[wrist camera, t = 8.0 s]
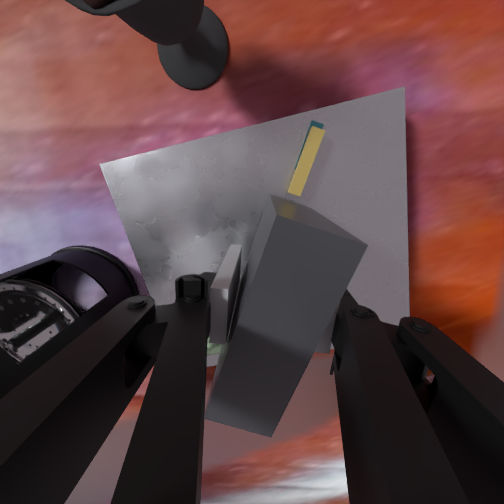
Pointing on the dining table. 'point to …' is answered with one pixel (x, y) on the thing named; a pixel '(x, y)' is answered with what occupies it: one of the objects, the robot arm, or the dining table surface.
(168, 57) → the sundae
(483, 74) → the dining table surface
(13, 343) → the french press
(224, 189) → the base
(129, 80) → the dining table surface
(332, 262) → the dark grey rectangular block
